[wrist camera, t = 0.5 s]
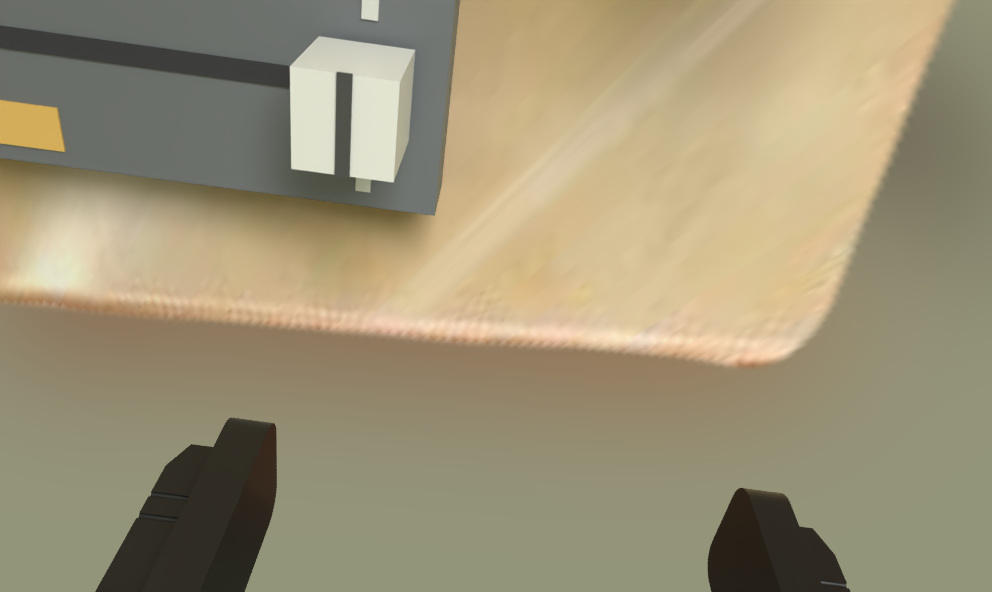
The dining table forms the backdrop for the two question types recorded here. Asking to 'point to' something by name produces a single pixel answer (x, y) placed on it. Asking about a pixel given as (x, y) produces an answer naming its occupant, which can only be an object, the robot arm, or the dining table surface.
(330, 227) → the dining table surface
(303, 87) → the fader knob
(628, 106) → the dining table surface
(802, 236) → the dining table surface
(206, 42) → the fader slider base
